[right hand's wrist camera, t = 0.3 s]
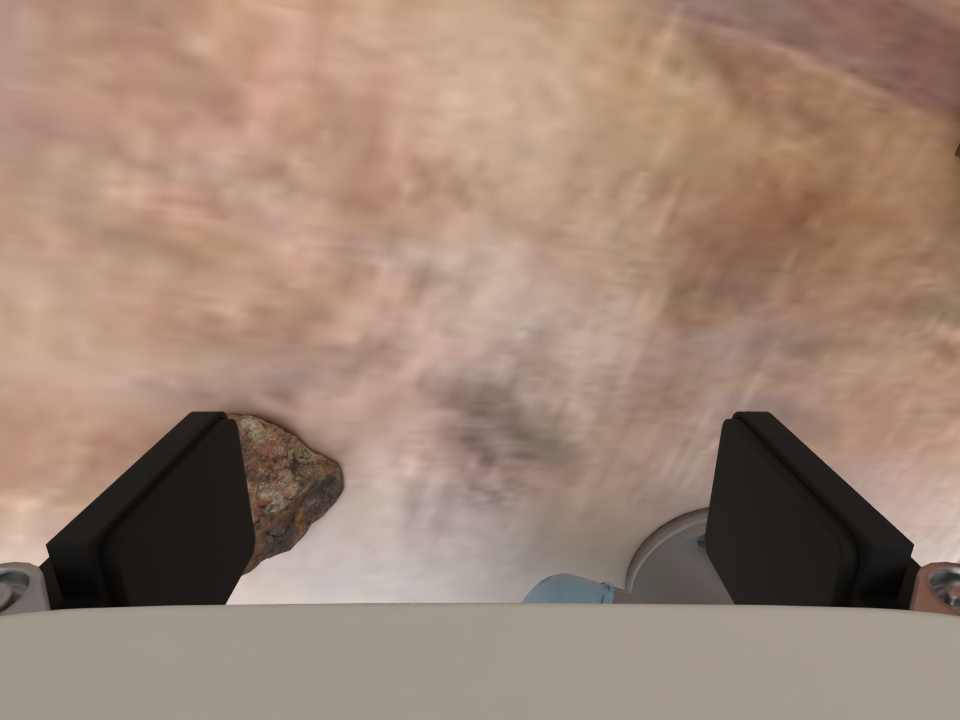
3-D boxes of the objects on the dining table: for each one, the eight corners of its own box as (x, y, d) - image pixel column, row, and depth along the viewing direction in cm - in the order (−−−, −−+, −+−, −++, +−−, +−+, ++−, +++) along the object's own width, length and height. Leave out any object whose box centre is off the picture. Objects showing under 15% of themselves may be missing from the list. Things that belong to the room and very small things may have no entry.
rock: (311, 541, 50) (361, 452, 47) (288, 621, 42) (345, 520, 39) (141, 477, 46) (183, 376, 43) (81, 551, 39) (126, 434, 36)
